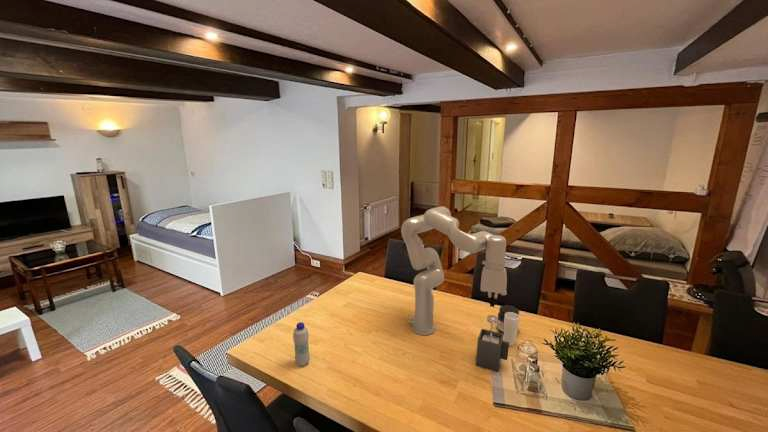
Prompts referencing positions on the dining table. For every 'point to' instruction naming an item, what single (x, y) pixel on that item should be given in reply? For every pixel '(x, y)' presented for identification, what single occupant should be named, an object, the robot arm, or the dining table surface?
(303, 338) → the bottle
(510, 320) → the drinking glass
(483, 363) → the block
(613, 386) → the dining table surface
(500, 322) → the supplement container
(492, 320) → the plunger
